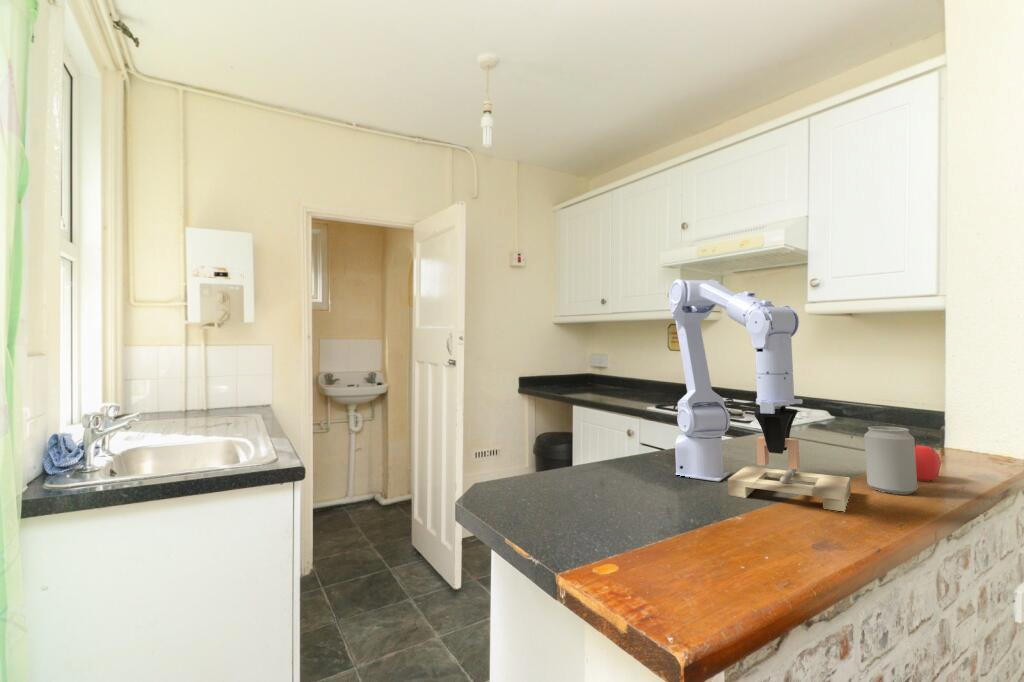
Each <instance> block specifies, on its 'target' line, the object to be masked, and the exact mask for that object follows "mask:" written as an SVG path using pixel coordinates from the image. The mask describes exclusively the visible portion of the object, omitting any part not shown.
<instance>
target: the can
mask: <svg viewBox="0 0 1024 682" xmlns="http://www.w3.org/2000/svg"><path fill="white" fill-rule="evenodd" d="M867 429H868V431H866V432H865V433H864V435H863V437H864V439H863V440H864V452H865V453H864V455H865V471H866V484H867V485H868V486H869V487H871V488H872V489H873V488H874V489H877V490H880V491H884V492H889V493H892V494H891V495H899V494H900V495H901V496H903V495H904V496H905V495H906V496H907V495H912V494H913V493H914V492H916V491H917V490H918V481H917V474H916V459H915V444H914V440H915V437H914V436H913V435H912V434H910V433H909V431H910V429H909V428H906V427H900V426H888V425H887V426H886V425H885V426H884V425H882V426H881V425H880V426H879V425H877V426H876V425H874V426H868V427H867ZM874 489H873V490H874ZM884 492H883V493H884ZM889 493H888V494H889Z"/></svg>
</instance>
